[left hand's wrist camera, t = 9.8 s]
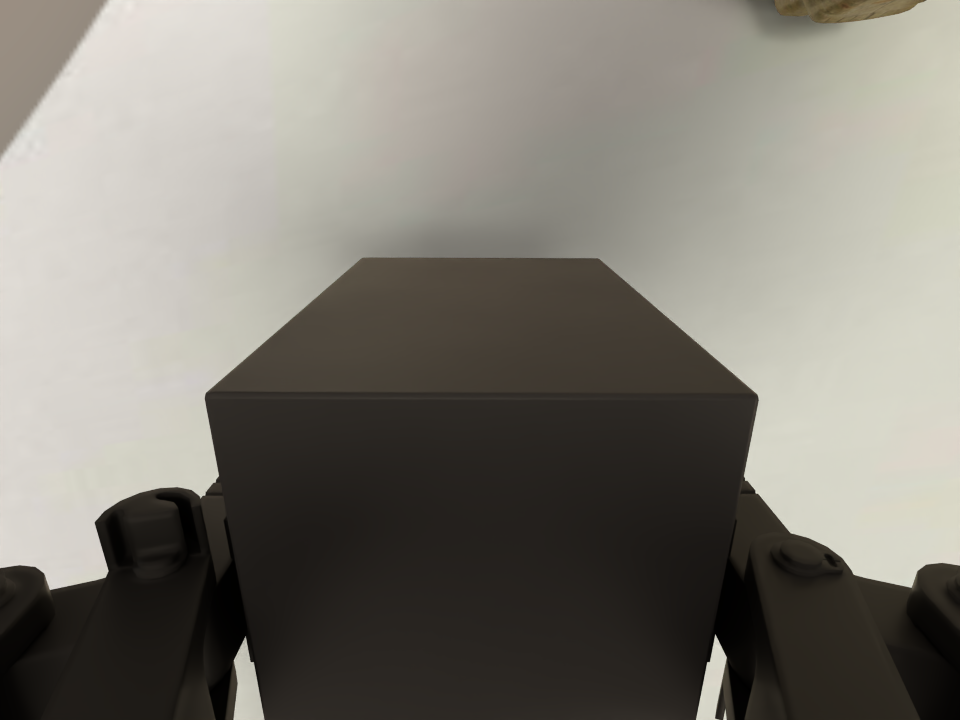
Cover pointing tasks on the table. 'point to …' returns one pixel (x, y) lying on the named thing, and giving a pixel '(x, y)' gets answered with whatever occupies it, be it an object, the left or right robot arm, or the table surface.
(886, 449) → the table surface
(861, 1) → the sculpture
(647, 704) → the bar
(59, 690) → the left robot arm
